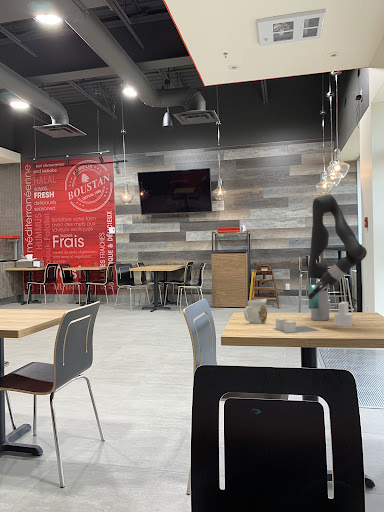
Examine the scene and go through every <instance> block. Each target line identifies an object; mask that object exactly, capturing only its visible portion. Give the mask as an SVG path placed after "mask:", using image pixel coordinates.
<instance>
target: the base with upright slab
mask: <svg viewBox="0 0 384 512" xmlns="http://www.w3.org/2000/svg"><path fill="white" fill-rule="evenodd" d="M337 309H338V311H337V312H334V326H337V325H339V326H338V327H352V326H353V313H350V312H349V301H340V302H338V304H337Z"/></svg>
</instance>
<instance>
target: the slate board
mask: <svg viewBox="0 0 384 512" xmlns="http://www.w3.org/2000/svg"><path fill="white" fill-rule="evenodd" d="M272 329H273V330H274V331H278V332H280V333H284V334H288V335H289V334H290V333H287V332H284V330H278V329H276V327H275V328H274V327H273V328H272ZM309 332H311V333H312V332H321V330H320V329H317V328H314V327H310V326H306V325H300V326H296V332H294V333H293V334H298V333H309Z"/></svg>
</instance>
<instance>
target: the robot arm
mask: <svg viewBox="0 0 384 512" xmlns="http://www.w3.org/2000/svg"><path fill="white" fill-rule="evenodd" d="M327 213H330V214H331V215H332V217H333V218H334V228H335V232H336V234H337V236H338V238H339V239H340V241H341V242H342V243H343V244H344V245H343V246H344V247H345V249H346V251H347V253H348V254H347V255H345V256H342V257H341V258H339V260H337V261H336V263H334V264H333V265H332V266H330V267H329V268H328V264H327V262H317V261H318V259H319V257H320V256H321V255H322V254H323V252H325V251H326V249H327V248H328V247H329V246H328V245H329V238H330V234H329V231H328V229H327V226H325V224H324V214H327ZM311 226H312V230H311V237H310V254H309V260H308V266H307V267H308V268H307V275H308V278H310V279H320V280H319V282H317V283H315V284H316V285H317V286H316V288H315V289H314V290H313V292H312V293H311V294H310V295H309V296H308V295H307V298H309V299H312V298H313V297H314V296H315V295H316V294H318V293H319V298H320V308H318V309H312V308H310V312H311V313H310V314H311V315H310V316H311V317H310V318H311V320H312V321H323V322H324V321H328V320H330V303H329V301H328V286H330V287H334V286H336V285H337V283H338V282H339V281H340V280H342V278H343V277H344V276H345V275H346V274H347V273H348V272H349V271H350V270H351V269H352V268H353V267H354V266H356V265H358V264H359V263H360V262H362V261H363V260H364V259H366V256H367V254H368V251H367V249H366V247H364V246H363V245H362V244H360V242H359V240H358V239H357V236H356V234H355V232H354V231H353V229H351V227H350V225H349V223H348V222H347V220H346V219H345V217H344V214H343V212H342V210H341V208H340V205H339V204H338V201H337V200H336V198H335V197H334V196H333V195H332V194H325V195H322V196H317V197H315V198H314V199H313V201H312V225H311ZM316 289H317V290H318V292H317V291H316Z"/></svg>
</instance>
